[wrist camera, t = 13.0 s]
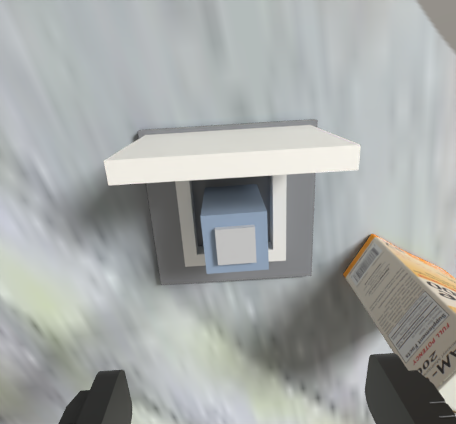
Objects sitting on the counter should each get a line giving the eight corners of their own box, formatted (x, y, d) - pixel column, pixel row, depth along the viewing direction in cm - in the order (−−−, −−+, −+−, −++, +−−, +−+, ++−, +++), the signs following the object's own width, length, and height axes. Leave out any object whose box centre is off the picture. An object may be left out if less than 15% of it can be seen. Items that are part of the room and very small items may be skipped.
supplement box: (445, 267, 29) (609, 396, 17) (411, 307, 31) (540, 453, 18) (370, 229, 28) (491, 341, 15) (339, 273, 29) (425, 408, 17)
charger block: (204, 187, 25) (200, 218, 19) (256, 183, 25) (267, 213, 19) (209, 234, 26) (206, 277, 20) (258, 231, 26) (269, 272, 20)
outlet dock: (140, 129, 24) (91, 154, 15) (314, 119, 24) (372, 137, 15) (162, 279, 29) (135, 368, 20) (309, 270, 29) (350, 355, 20)
